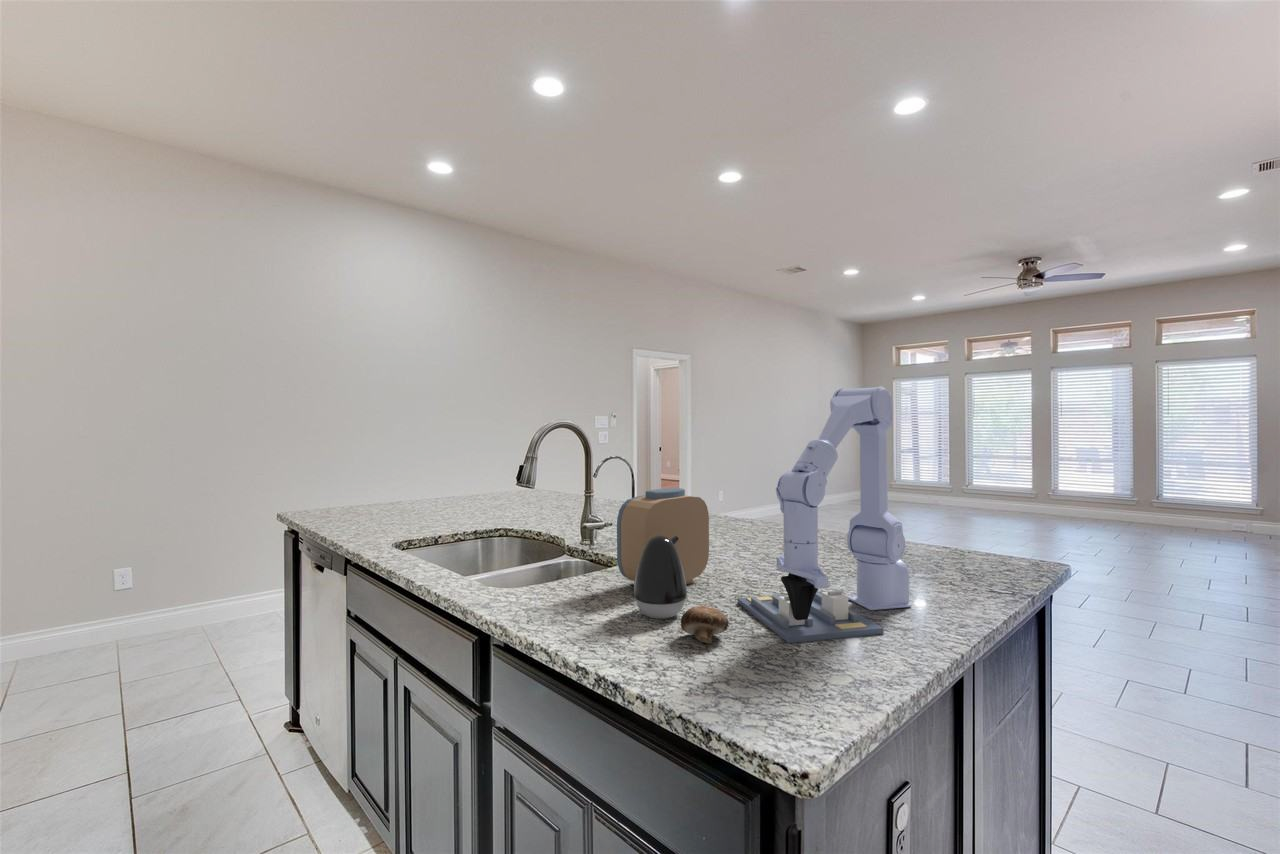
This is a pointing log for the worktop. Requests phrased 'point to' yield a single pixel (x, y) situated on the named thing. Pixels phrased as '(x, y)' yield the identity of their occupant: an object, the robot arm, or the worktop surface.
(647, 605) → the pump dispenser
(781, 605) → the tab
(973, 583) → the worktop surface
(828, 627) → the switch board
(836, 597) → the tab
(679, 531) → the alarm clock
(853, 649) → the worktop surface
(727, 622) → the mushroom
